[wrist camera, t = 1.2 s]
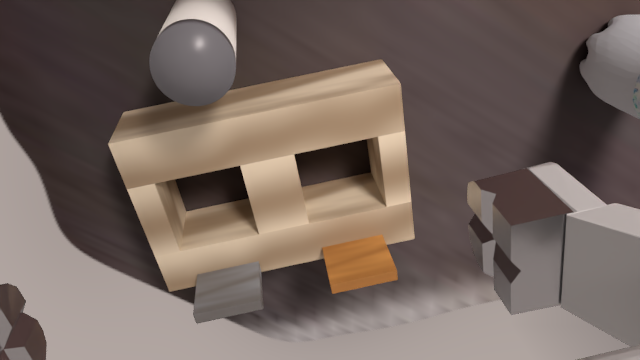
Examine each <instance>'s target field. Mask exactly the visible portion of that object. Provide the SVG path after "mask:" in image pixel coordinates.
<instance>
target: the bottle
mask: <svg viewBox="0 0 640 360" xmlns="http://www.w3.org/2000/svg"><path fill="white" fill-rule="evenodd" d="M586 45H587V47H588V55H587V59H584V60H582V61H581V62H580V72H581V75H582V77H583V78H584V79H585V81H586V82H587V84H588V86H589V87H590V89H591V91H592V92H593V93H594V94H595V95H596V96H597V97H598V98H600V99H601V100H603V101H604V102H606V103H608V104H610V105H612V106H614V107H615V108H617V109H619V110H621V111H624V112H626V113H628V114H630V115H632V116H634V117H636V118H638V119H640V15H621V16H617V17H614V18H612V19H611V20H610V21H609V23H608V28H606V29H605V30H604V31H602V32H600V33H596V34H593V35H591V36H590V37H589V39H588V40H587V42H586Z"/></svg>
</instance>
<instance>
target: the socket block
mask: <svg viewBox="0 0 640 360" xmlns="http://www.w3.org/2000/svg"><path fill="white" fill-rule="evenodd" d="M365 139H367V145H368V152H369V160H370V167H371V172H370V173H366V174H361V175H356V176H352V177H347V178H342V179H337V180H333V181H328V182H323V183H318V184H314V185H309V186H304V187H301V182H300V178H299V173H298V168H297V164H296V159H295V154H298V153H303V152H308V151H312V150H317V149H322V148H327V147H331V146H336V145H341V144H346V143H350V142H355V141H360V140H365ZM108 145H109V148H110V150H111V152H112V155H113V157H114V160H115V162H116V164H117V167H118V169H119V172H120V174H121V176H122V179H123V181H124V184H125V186H126V188H127V191H128V193H129V196H130V198H131V200H132V203H133V205H134V208H135V210H136V212H137V215H138V217H139V220H140V222H141V224H142V227H143V229H144V232H145V234H146V236H147V239H148V241H149V244H150V246H151V248H152V251H153V253H154V256H155V258H156V260H157V263H158V265H159V268H160V270H161V272H162V275H163V277H164V280H165V282H166V284H167V287H168V289H169V292H171V291H176V290H180V289H185V288H189V287H194V286H196V293H195V302H194V313H193V315H194V318H195V320H196V323H201V322H206V321H211V320H215V319H220V318H224V317H229V316H234V315H238V314H243V313H247V312H252V311H256V310H261V309H263V295H262V278H261V272H263V271H268V270H273V269H277V268H282V267H286V266H291V265H296V264H300V263H305V262H310V261H314V260H319V259H323V258H324V259H325V264H326V268H327V273H328V277H329V281H330V286H331V290H332V294H334V293H339V292H343V291H348V290H352V289H357V288H361V287H366V286H371V285H375V284H380V283H384V282H389V281H393V280H398V277H397V270H396V267H395V265H394V262H393V260H392V257H391V255H390V252H389V250H388V247H387V245H388V244H393V243H397V242H402V241H406V240H411V239H415V237H414V226H413V215H412V204H411V193H410V182H409V171H408V160H407V149H406V138H405V127H404V116H403V105H402V94H401V83H400V82H399V81H398V80H397V78H396V77H395V76H394V74H393V73H392V72H391V71H390V69H389V68H388V67H387V65H386V64H385V63H384V62H383V60H382V59H380V60H375V61H370V62H365V63H360V64H355V65H350V66H346V67H341V68H336V69H331V70H326V71H321V72H316V73H311V74H307V75H302V76H297V77H292V78H287V79H282V80H277V81H272V82H268V83H263V84H258V85H253V86H248V87H243V88H238V89H233V90H229V91H228V92H227V93H226V94H225V95H224V96H223V97H222V98H220V99H219V100H217V101H216V102H213V103H211V104H208V105H204V106H187V105H183V104H180V103H177V102H170V103H165V104H160V105H155V106H150V107H146V108H141V109H136V110H131V111H126V112H123V114H122V116H121V118H120V120H119V122H118V125H117V127H116V129H115V131H114V133H113V135H112V137H111V139H110V141H109V143H108ZM236 166H240V167H241V171H242V175H243V178H244V182H245V185H246V189H247V193H248V196H249V198H248V199H243V200H238V201H234V202H229V203H224V204H219V205H215V206H210V207H205V208H201V209H196V210H191V211H186V209H185V206H184V203H183V201H182V198H181V195H180V192H179V189H178V187H177V184H176V181H175V179H179V178H184V177H188V176H193V175H198V174H203V173H207V172H212V171H217V170H222V169H227V168H231V167H236Z"/></svg>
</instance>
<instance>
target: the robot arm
mask: <svg viewBox="0 0 640 360" xmlns="http://www.w3.org/2000/svg"><path fill="white" fill-rule="evenodd" d="M467 200H468V204H469V206H470V207H471V208H472V210H473V211H474V212H475V214H474V216H473V217H472V219H471V221H470V222H469V236H470V242H471V246H472V250H473V254H474V256H475V258H476V261H477V263H478V265H479V266H480V268H481V269H482V271H483V273H485V274H488V275H490V276H492V277H494V290H495V291H496V293H497V294H498V296H499V297H500V299H501V300H502V302H503V303H504V305H505V306H506V308H507V309H508V311H509V312H510V314H511V315H513V314H519V313H523V312H528V311H533V310H538V309H543V308H548V307H553V306H558V305H561V308H563V309H565V310H566V311H568V312H570V313H572V314H574V315H575V316H577V317H579V318H581V319H582V320H584V321H586V322H588V323H590V324H591V325H593V326H595V327H597V328H598V329H600V330H602V331H604V332H605V333H607V334H609V335H611V336H613V337H615V338H616V339H618V340H620V341H621V342H623V343H625V344H627V345H629V346H630V347H629V348H624V349H620V350H616V351H611V352H607V353H603V354H598V355H595V356H590V357H586V358H582V359H578V360H640V209H636V208H632V207H628V206H625V205H621V204H617V203H615V204H610V205H606V204H605V203H604V202H603V201H601V200H600V199H599V198H598V197H597V196H595V195H594V194H593V193H592V192H591V191H589V190H588V189H587V188H586V187H585V186H583V185H582V184H581V183H580V182H578V181H577V180H576V179H575V178H574V177H572V176H571V175H570V174H569V173H568V172H566V171H565V170H564V169H563V168H562V167H560V166H559V165H558V164H557V163H553V162H548V163H544V164H540V165H536V166H532V167H528V168H525V169H521V170H517V171H513V172H509V173H505V174H501V175H497V176H493V177H489V178H485V179H481V180H477V181H473V182H469V184H468V189H467ZM25 302H26V300H25V299H24V297H23V296H22V294H21V293H20V291H19V290H18V288H17V287H16V286H13V285H10V284H8V283H7V284H2V285H0V360H46V340H45V336H44V333H43V330H42V328H41V326H40V325H39V323H38V321H37V320H36V319H34V318H32V317H30V316H29V315H27V314H25V313H23V309H24V305H25Z"/></svg>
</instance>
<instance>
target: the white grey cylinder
mask: <svg viewBox="0 0 640 360" xmlns="http://www.w3.org/2000/svg"><path fill="white" fill-rule="evenodd" d="M236 32H237V16H236V11H235V8H234V5H233V3H232V2H231V0H176V1H175V3H174V5H173V7H172V9H171V11H170V13H169V15H168V17H167V19H166V21H165V23H164V25H163V27H162V29H161V31H160V33H159V35H158V37H157V39H156V41H155V43H154V45H153V47H152V49H151V53H150V58H149V66H150V72H151V75H152V78H153V80H154V82H155V84H156V85H157V87H158V88H159V89H160V90H161V91H162V92H163V94H165V95H166V96H167V97H168V98H170V99H172V100H173V101H175V102H177V103H180V104H183V105H187V106H204V105H208V104H211V103H213V102H216V101H217V100H219V99H220V98H222V97H223V96H224V95H225V94H226V93H227V92H228V90H229V89H230V87H231V86H232V84H233V81H234V78H235V73H236Z"/></svg>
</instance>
